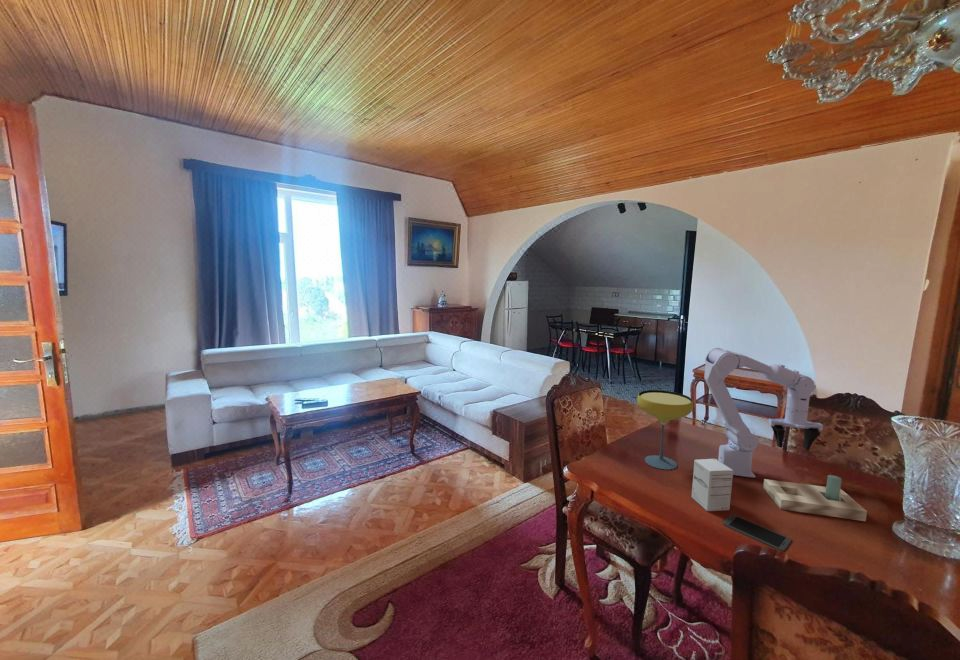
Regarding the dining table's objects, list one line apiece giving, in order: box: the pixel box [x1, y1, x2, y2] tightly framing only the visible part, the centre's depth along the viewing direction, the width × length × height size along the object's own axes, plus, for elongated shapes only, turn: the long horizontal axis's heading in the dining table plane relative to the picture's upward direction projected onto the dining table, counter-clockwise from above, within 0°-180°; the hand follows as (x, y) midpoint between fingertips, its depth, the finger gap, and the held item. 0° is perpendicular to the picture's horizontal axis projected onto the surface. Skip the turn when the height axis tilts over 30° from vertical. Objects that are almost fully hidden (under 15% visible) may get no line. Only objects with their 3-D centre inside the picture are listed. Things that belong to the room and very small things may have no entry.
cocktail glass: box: [636, 389, 694, 471], centre depth 138 cm, size 18×18×25 cm
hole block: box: [762, 478, 868, 522], centre depth 114 cm, size 20×12×3 cm, turn 73°
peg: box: [825, 474, 842, 501], centre depth 112 cm, size 3×3×9 cm
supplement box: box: [691, 458, 734, 512], centre depth 113 cm, size 7×7×13 cm
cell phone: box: [721, 513, 792, 553], centre depth 101 cm, size 7×14×1 cm, turn 38°
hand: (792, 447), depth 129 cm, fingers open, 7 cm apart
